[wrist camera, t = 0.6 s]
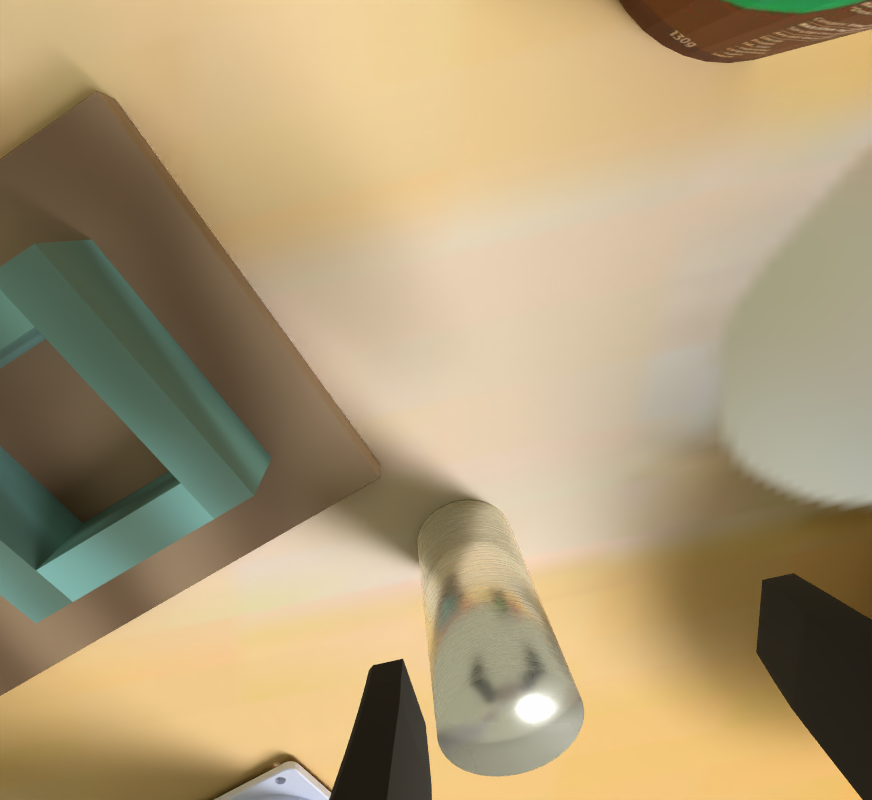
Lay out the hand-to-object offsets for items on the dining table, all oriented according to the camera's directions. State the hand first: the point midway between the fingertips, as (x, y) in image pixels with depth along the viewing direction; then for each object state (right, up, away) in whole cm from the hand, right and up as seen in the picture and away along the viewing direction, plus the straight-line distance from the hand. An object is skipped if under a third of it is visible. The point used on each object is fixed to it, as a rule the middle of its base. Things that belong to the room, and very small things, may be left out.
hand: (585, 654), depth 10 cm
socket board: (-17, +3, +8) cm, 19 cm away
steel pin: (-2, -1, +11) cm, 11 cm away
